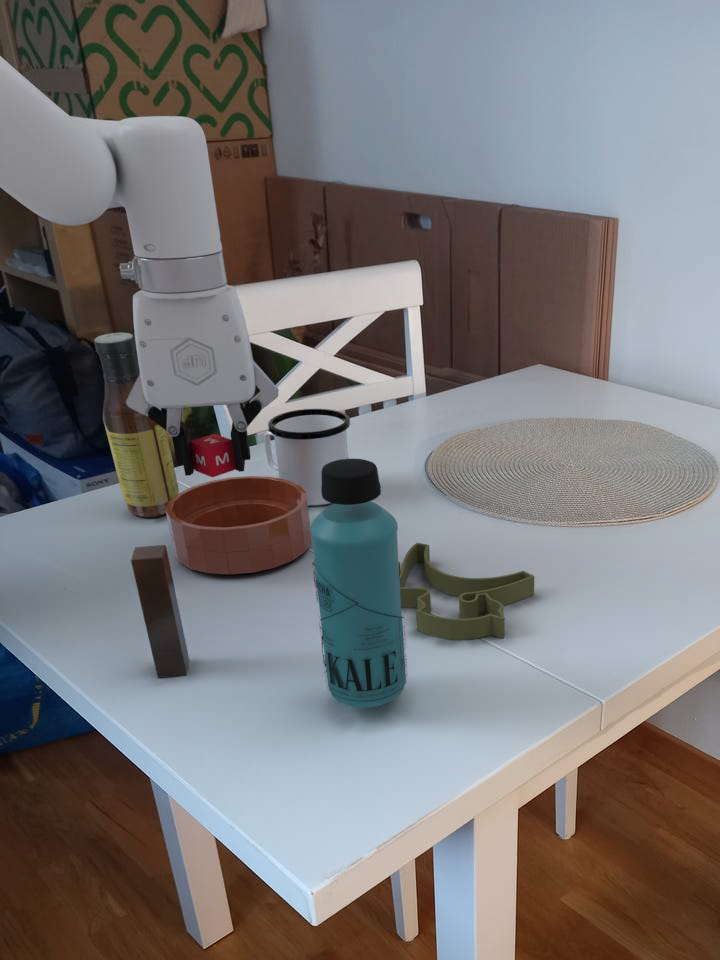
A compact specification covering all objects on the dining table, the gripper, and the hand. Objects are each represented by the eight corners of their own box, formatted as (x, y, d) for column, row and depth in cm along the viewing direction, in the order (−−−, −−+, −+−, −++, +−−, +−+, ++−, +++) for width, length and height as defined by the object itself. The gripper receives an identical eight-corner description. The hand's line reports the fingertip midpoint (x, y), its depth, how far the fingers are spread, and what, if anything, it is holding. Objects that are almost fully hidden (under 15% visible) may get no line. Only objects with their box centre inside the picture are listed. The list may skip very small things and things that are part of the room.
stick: (157, 678, 77) (130, 559, 72) (160, 663, 79) (134, 546, 74) (186, 675, 78) (162, 557, 72) (189, 660, 80) (165, 544, 74)
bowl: (168, 585, 92) (158, 534, 89) (182, 527, 104) (174, 481, 101) (313, 572, 94) (307, 523, 91) (310, 517, 106) (305, 471, 103)
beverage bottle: (376, 670, 78) (357, 441, 68) (426, 702, 74) (415, 464, 63) (311, 701, 74) (281, 463, 64) (361, 737, 70) (337, 489, 60)
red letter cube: (194, 470, 92) (189, 441, 91) (219, 462, 94) (214, 433, 92) (212, 477, 90) (207, 448, 89) (237, 469, 92) (232, 440, 91)
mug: (371, 488, 113) (366, 415, 108) (322, 515, 106) (314, 438, 101) (296, 470, 118) (288, 400, 114) (244, 495, 111) (233, 422, 107)
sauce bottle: (159, 495, 112) (124, 325, 101) (193, 506, 109) (161, 333, 98) (113, 513, 107) (72, 337, 97) (147, 525, 104) (108, 345, 94)
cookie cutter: (552, 597, 89) (553, 579, 88) (484, 653, 80) (484, 633, 79) (404, 553, 97) (403, 536, 96) (328, 599, 89) (326, 581, 88)
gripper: (76, 287, 78) (122, 489, 88) (277, 277, 81) (301, 476, 90) (92, 271, 85) (133, 462, 94) (278, 263, 87) (300, 450, 96)
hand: (215, 466), depth 92 cm, fingers closed on red letter cube, 4 cm apart
